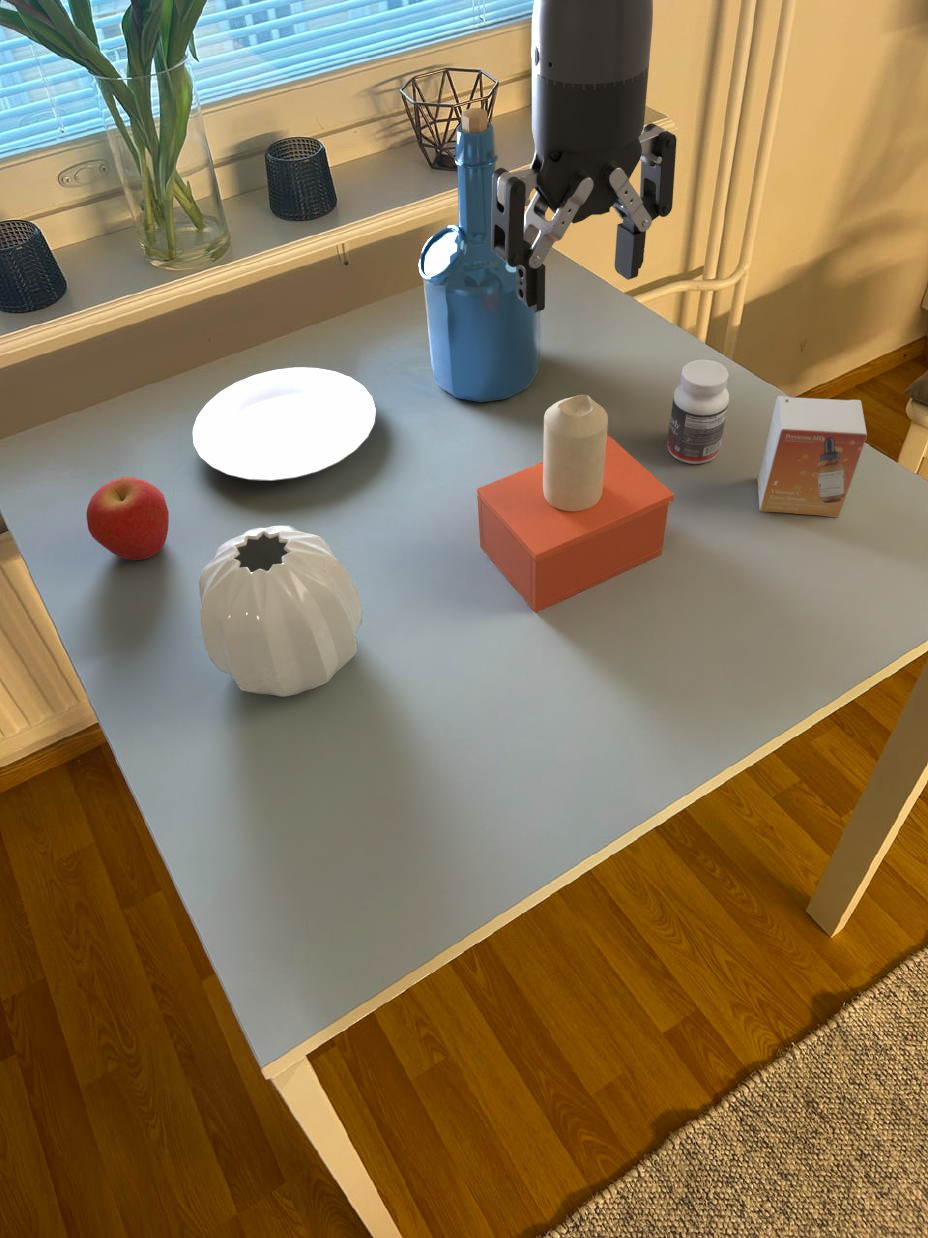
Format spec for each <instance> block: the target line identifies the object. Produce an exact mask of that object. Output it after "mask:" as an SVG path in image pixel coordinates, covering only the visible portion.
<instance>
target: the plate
mask: <svg viewBox="0 0 928 1238" xmlns="http://www.w3.org/2000/svg"><path fill="white" fill-rule="evenodd" d="M374 401H375V400H374V398H373V396H372V395H371V394H370V392H369V391H368V390H367V389H366V387H365V386H364V385H363V384H361V383H360V382H358V381H357V380H355V379H353V378H352V377H351V376H348V375H345V374H343V373H341V372H338V371H335V370H329V369H324V368H318V367H297V366H296V367H287V368H280V369H279V368H278V369H273V370H269V371H264V372H261V373H257V374H253V375H251V376H249V377H246V378H244V379H241V380H239V381H236V382H234V383H233V384H231V385H229V386H227V387H226V388H224V389H223V390H221V391H219V392H218V393H217V394H216V395H215V396H214V397H212V398H211V399H210V400H209V401H208V402H207V403H206V404H205V405H204V407H203V408H202V409H201V410H200V412H199V413H198V415H197V416H196V419H195V421H194V425H193V428H192V441H193V442H192V443H193V446H194V448H195V450H196V452H197V455H198V456H199V457H200V458H201V460H203V461H204V462H205V463H206V464H207V465H209V466H210V467H211V468H213V469H215V470H217V471H218V472H221V473H223V474H225V475H227V476H230V477H235V478H239V479H244V480H248V481H267V482H268V481H270V482H273V481H281V480H290V479H296V478H297V479H298V478H299V477H304V476H308V475H311V474H315V473H318V472H321V471H323V470H325V469H328V468H329V467H332V466H333V465H336V464H338V463H340V462H341V461H343V460H344V459H346V458H347V457H348V456H351V454H353V453H355V452H356V451H357V450H358V449H359V448H360V446H361V445H362V444H363V443H364V442H365V441H366V440H367V439H368V438H369V436H370V434H371V431H372V430H373V428H374V426H375V423H376V416H377V415H376V414H377V408H376V405H375V404H376V403H375V402H374Z"/></svg>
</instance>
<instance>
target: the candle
mask: <svg viewBox="0 0 928 1238" xmlns="http://www.w3.org/2000/svg"><path fill="white" fill-rule="evenodd" d="M608 423H609V416H608V413H607V411H606V409H605V408H603V407H602V406H601V405H600V404H599V403H597V402H596V401H595V400H594V399H592V398H591V396H589V395H588V394H578V395H574V396H571V397H566V398H563V399H560V400H558V401H557V402H555V403H554V404H552V405H550V407H548V409H546V411H545V413H544V416H543V459H542V462H543V492H544V496H545V499H546V500H547V502H548V503H549V504H551V505H552V506H553V507H555V508H558V509H560V510H564V511H582V510H586V509H589V508H591V507H592V506H594V505H595V504H596V503H597V502H598V501H599V500H600V498H601V495H602V489H603V478H604V465H605V452H606V439H607V436H608V425H609V424H608Z"/></svg>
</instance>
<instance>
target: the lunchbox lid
mask: <svg viewBox="0 0 928 1238" xmlns="http://www.w3.org/2000/svg"><path fill="white" fill-rule="evenodd" d="M476 495H477V496H479V497H480V498H481V500H482V501H483V502H484V503H485V504H486V505H487V506H488V508H489V509H490V510H491V511H492V512H493V513H494V514H495V515H496V517H497V518H498V519H499V520H500V521H501V522H502V523H503V525H504V526H505V527H506V528H507V529H508V530H509V531H510V532H511V534H512V535H513V536H514V537H515V538H516V539H517V540H518V542H519V543H520V544H521V545H522V546H523V547H524V548H525V549H526V551H527V552H528V553H529V554H530V555H531V556H532V557H533V559H534V560H535V561H538V560H540V559H542V558H545V557H547V556H549V555H551V554H554V553H556V552H558V551H560V550H563V549H565V548H567V547H569V546H572V545H574V544H576V543H578V542H581V541H583V540H585V539H588V538H590V537H592V536H594V535H597V534H599V533H601V532H603V531H606V530H608V529H610V528H612V527H615V526H617V525H619V524H621V523H624V522H626V521H628V520H630V519H633V518H635V517H637V516H640V515H642V514H644V513H646V512H649V511H651V510H653V509H655V508H658V507H660V506H662V505H664V504H667V503H669V504H670V503H671V502H673V501H674V499H675V494H674V493H673V492H672V491H671V490H670V489H669V488H668V487H667V486H665V484H663V482H661V481H660V480H659V479H658V478H656V476H654V475H653V474H652V473H651V472H650V471H649V470H648V469H647V468H646V467H645V466H643V465H642V463H640V462H639V461H638V460H637V459H635V458H634V457H633V456H632V455H631V454H630V453H629V452H628V451H627V450H626V449H625V448H623V446H621V445H620V444H619V443H618V442H617V441H616V440H615V439H614V438H613V437H611V436H610V435H608V434H607V439H606V452H605V465H604V478H603V489H602V495H601V498H600V500H599V501H598V502H597V503H596V504H595V505H594V506H592V507H591V508H589V509H586V510H582V511H564V510H560V509H558V508H555V507H553V506H552V505H551V504H549V503H548V502H547V500H546V499H545V496H544V492H543V461H541V462H539V463H536V464H534V465H531V466H529V467H527V468H524V469H521V470H519V471H516V472H514V473H512V474H509V475H507V476H505V477H501V478H499V479H497V480H494V481H493V482H490V483H488V484H485V485H483V486H480V487H478V488H476Z"/></svg>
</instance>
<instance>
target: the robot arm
mask: <svg viewBox="0 0 928 1238" xmlns="http://www.w3.org/2000/svg"><path fill="white" fill-rule="evenodd" d="M653 19H654V0H533V6H532V16H531V50H530V51H531V52H530V53H531V54H530V55H531V133H532V138H533V143H534V155H533V159H532V161H531V164H530V166H529V168H527V169H521V170H517V171H513V172H510V171H509V170H507V169H506V168H504V167H499V168H496V171H495V172H494V174H493V176H492V211H491V250H492V252H493V253H494V254H496V255H497V256H498V257H499V258H501V259H502V260H503V261H504V262H506V263H507V264H508V265H509V266H511V267H516V281H517V282H516V286H517V287H516V292H517V296H518V298H519V300H521V301H522V302H523V303H524V304H525V305H526V306H527V307H528V308H529V309H531V310H532V311H533V312H535V313H536V312H539V311H541V312H542V311H544V310H545V308H546V264H544V262H545V260H546V258H547V256H548V255H549V252H550V251H551V250H552V247H553V245H554V244H555V243H556V242H559V241H561V240H562V239H563V237H564V235H565V233H567V230H568V229H569V227H570V225H571V224H577V223H581V222H583V221H585V220H586V219H589V217H591V216H602V215H605V214H607V213H610V211H611V208H613V210H614V211H615V212H616V214H617V216H619V218H620V219H621V220H622V222H620V223H617V225H616V236H615V238H616V239H615V253H614V270H615V271H616V273H617V274H619V275H620V276H622V278H624V279H626V280H628V281H629V280H633V279H635V278H637V277H638V276H639V270H640V269H641V268H642V265H643V263H644V258H645V246H646V238H647V237H646V236H647V231H648V230H649V229H650V227H651V225H652V224H653V221H654V220H656V219H657V218H659V217H661V218H665V217H667V216H669V215H670V213H671V212H672V209H673V203H674V189H675V169H676V155H677V141H678V140H677V139H678V138H677V136H676V134H674V133H672V132H670V131H669V130H668V129H665V128H663V127H662V126H660V125H657V124H655V123H653V122H650V123H648V124H646V125H645V119H646V105H647V95H648V94H647V93H648V81H649V70H650V69H649V68H650V61H651V60H650V59H651V47H652V36H653V35H652V34H653V23H654V21H653ZM639 163H640V182H639V194H638V191H636V189H635V188H634V186H633V184H632V183H631V182H630V179H631V177H632V175H633V174H634V171H635V170H636V167H637V166H638V165H639ZM533 190H535V191H536V193H535V194H534V196H533V198H532V200H531V199H530V195H531V193H532V192H533ZM526 207H527V209H526ZM548 208H549V209H550V210H551V212H552V213H553V214H554V215H553V217H552V218H551V219H550V220H547V218H546V212H547V211H548ZM532 244H533V246H532Z"/></svg>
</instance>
